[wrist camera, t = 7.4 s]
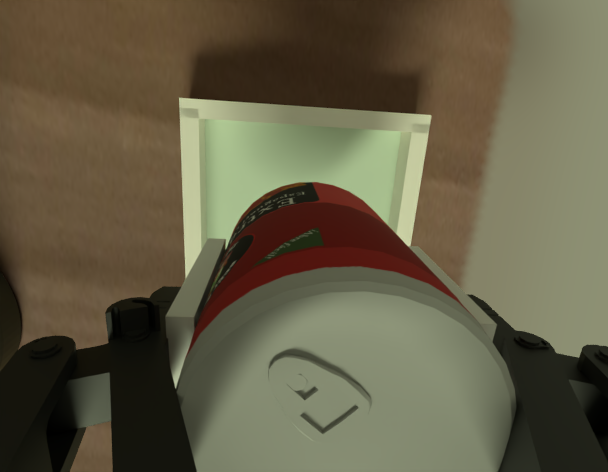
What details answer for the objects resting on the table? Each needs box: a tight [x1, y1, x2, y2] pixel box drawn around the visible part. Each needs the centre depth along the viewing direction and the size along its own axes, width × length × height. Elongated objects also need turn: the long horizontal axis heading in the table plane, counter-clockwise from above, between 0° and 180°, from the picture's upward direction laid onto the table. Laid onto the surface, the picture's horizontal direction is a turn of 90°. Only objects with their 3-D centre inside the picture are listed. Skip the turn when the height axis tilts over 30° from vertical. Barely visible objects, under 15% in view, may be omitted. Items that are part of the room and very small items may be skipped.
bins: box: [179, 98, 431, 278], centre depth 26 cm, size 27×14×2 cm, turn 176°
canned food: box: [176, 182, 516, 472], centre depth 14 cm, size 8×8×11 cm
